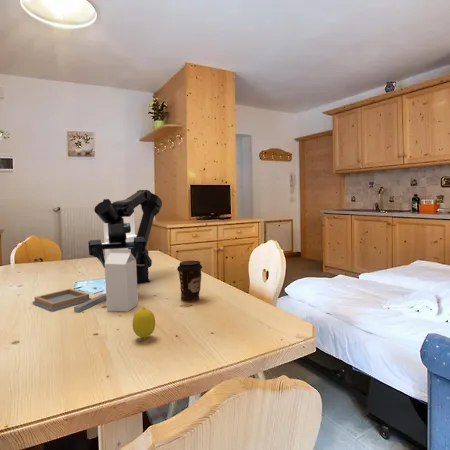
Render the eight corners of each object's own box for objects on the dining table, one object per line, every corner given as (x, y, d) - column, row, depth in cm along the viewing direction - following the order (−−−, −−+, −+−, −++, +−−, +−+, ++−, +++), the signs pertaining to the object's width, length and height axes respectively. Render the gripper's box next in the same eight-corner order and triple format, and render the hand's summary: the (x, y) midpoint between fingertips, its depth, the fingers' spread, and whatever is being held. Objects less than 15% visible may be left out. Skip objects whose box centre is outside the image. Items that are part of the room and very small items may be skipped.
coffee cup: (207, 297, 118) (206, 260, 117) (197, 304, 110) (196, 265, 109) (184, 295, 121) (183, 259, 119) (173, 302, 113) (172, 264, 112)
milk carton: (127, 312, 104) (124, 251, 103) (106, 311, 106) (103, 250, 104) (138, 304, 111) (135, 247, 110) (118, 303, 113) (115, 247, 111)
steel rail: (102, 298, 119) (102, 294, 119) (107, 298, 118) (107, 294, 118) (74, 311, 106) (74, 307, 105) (79, 312, 105) (79, 307, 105)
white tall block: (99, 261, 186) (97, 210, 183) (128, 257, 198) (126, 209, 195) (113, 266, 173) (110, 211, 171) (143, 261, 185) (141, 209, 182)
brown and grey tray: (71, 294, 125) (70, 288, 125) (91, 300, 117) (91, 294, 116) (32, 304, 114) (32, 297, 114) (52, 311, 106) (51, 304, 106)
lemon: (135, 334, 87) (133, 304, 86) (157, 333, 88) (155, 303, 87) (131, 344, 82) (129, 312, 81) (154, 342, 82) (153, 310, 81)
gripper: (87, 216, 113) (87, 254, 103) (144, 214, 119) (149, 249, 110) (89, 237, 121) (89, 274, 111) (142, 234, 127) (147, 268, 118)
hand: (119, 266), depth 112 cm, fingers open, 9 cm apart
